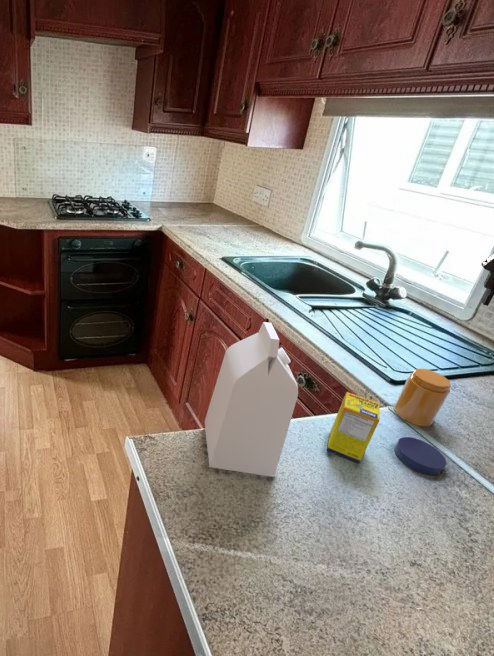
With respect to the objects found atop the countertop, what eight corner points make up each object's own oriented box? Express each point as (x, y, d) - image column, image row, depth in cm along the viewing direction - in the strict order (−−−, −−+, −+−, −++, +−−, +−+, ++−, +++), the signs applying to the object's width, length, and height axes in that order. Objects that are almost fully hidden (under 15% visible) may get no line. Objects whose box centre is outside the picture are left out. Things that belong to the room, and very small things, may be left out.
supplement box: (360, 445, 82) (380, 402, 77) (359, 464, 77) (380, 420, 72) (328, 432, 84) (346, 390, 79) (325, 450, 79) (344, 406, 75)
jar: (430, 412, 94) (450, 375, 89) (433, 431, 88) (455, 392, 83) (392, 399, 97) (410, 363, 92) (393, 417, 91) (412, 379, 86)
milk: (204, 421, 84) (231, 310, 72) (260, 430, 83) (296, 318, 72) (209, 467, 73) (241, 344, 61) (274, 477, 72) (318, 354, 61)
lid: (450, 467, 78) (454, 460, 78) (430, 481, 75) (434, 474, 74) (407, 439, 85) (410, 432, 84) (385, 451, 81) (389, 444, 80)
